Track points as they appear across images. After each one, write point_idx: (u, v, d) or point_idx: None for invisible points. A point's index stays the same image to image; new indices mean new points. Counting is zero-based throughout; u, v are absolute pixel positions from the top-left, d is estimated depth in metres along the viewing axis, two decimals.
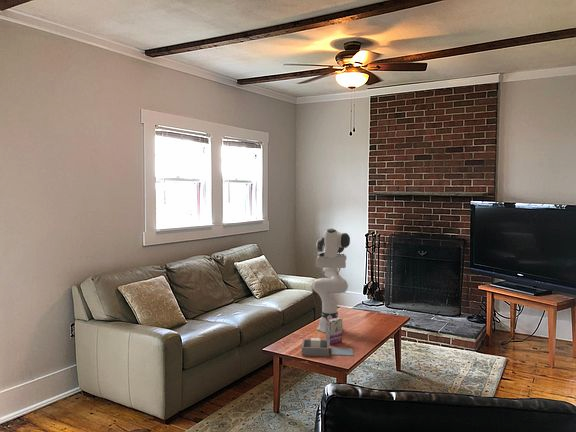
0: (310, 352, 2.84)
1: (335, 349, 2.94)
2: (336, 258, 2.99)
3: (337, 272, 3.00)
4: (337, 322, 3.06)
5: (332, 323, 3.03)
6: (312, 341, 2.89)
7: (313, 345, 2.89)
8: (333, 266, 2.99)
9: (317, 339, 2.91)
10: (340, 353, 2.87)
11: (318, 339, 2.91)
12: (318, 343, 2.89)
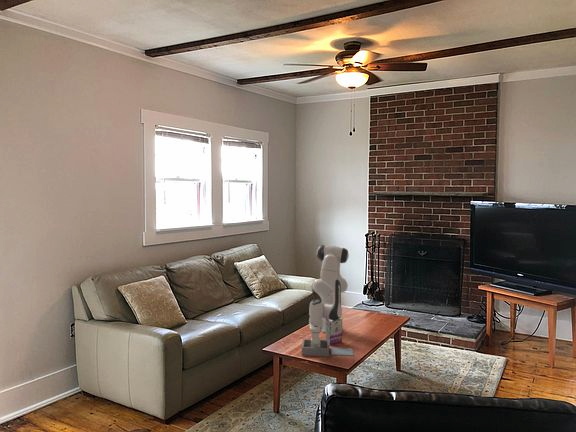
0: (310, 352, 2.84)
1: (335, 349, 2.94)
2: None
3: None
4: (337, 322, 3.06)
5: (332, 323, 3.03)
6: None
7: (313, 345, 2.89)
8: None
9: None
10: (340, 353, 2.87)
11: None
12: (318, 343, 2.89)
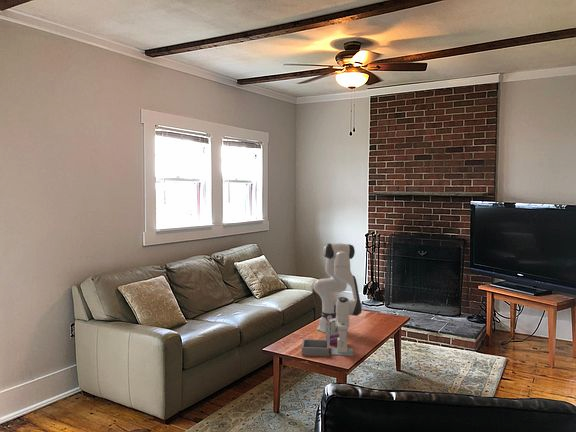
0: (310, 352, 2.84)
1: (335, 349, 2.94)
2: None
3: None
4: None
5: (332, 323, 3.03)
6: (339, 341, 2.88)
7: (340, 345, 2.88)
8: None
9: None
10: (340, 353, 2.87)
11: None
12: (345, 343, 2.88)
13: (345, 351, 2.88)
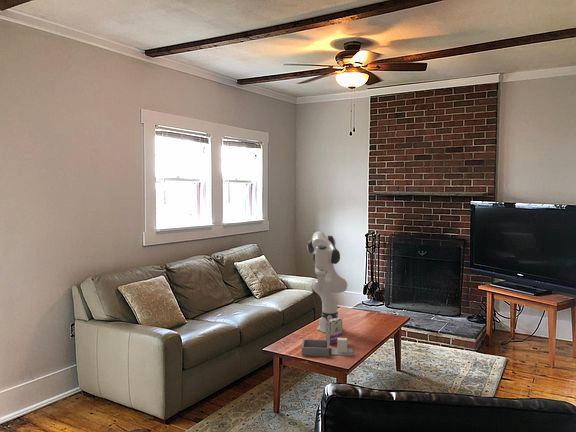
0: (310, 352, 2.84)
1: (335, 349, 2.94)
2: None
3: None
4: (337, 322, 3.06)
5: (332, 323, 3.03)
6: (339, 341, 2.88)
7: (340, 345, 2.88)
8: None
9: (344, 339, 2.90)
10: (340, 353, 2.87)
11: (345, 339, 2.90)
12: (345, 343, 2.88)
13: (345, 351, 2.88)
